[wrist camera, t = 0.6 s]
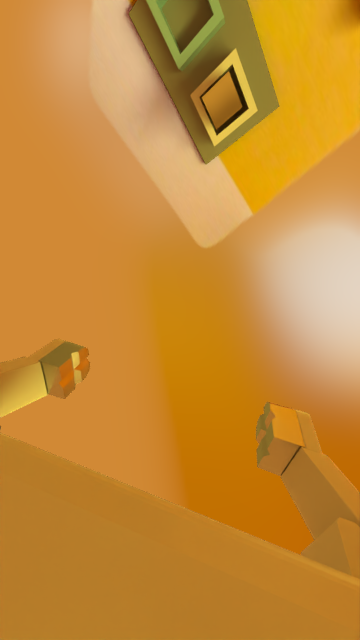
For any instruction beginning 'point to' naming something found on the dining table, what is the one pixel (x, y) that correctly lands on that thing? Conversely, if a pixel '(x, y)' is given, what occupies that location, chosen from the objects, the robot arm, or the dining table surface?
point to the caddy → (207, 63)
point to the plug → (222, 100)
